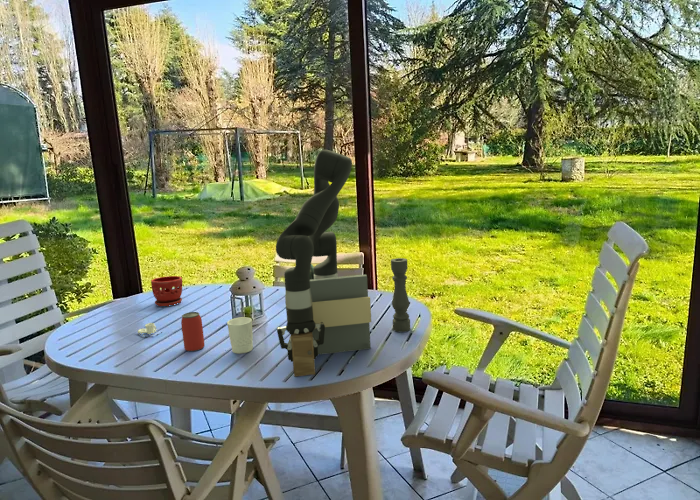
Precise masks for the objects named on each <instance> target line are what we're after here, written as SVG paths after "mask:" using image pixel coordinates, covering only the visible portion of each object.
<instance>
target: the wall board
mask: <svg viewBox="0 0 700 500" xmlns="http://www.w3.org/2000/svg"><path fill="white" fill-rule="evenodd" d="M310 290H311V294H312V306H313V320H314V322H315V323H321V322H323V323H324V325H325V332H324V343H323V344H322V345H321V344H320V345H319V346H318V356H320V355H327V354H335V353H345V352H346V353H347V352H352V351H362V350H369V349H372V347H371V332H370V331H371V330H370V328H371V326H370V323H372V309H371V308H372V307H371V306H372V305H371V296H369V291H368V276H367V274H356V275H355V274H354V275H347V276H346V275H345V276H338V277H333V278H323V279H312V280H310ZM312 334H313V336H314V338H315V339H316V340H318V339H319V331H318V329H317V327H315V329H314V330H313V332H312ZM319 354H320V355H319Z"/></svg>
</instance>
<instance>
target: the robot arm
mask: <svg viewBox="0 0 700 500" xmlns="http://www.w3.org/2000/svg"><path fill="white" fill-rule="evenodd" d="M352 168H353V160H352V159H351V158H350V157H349V156H347V155H344V154H342V153H341V154H340V153H339V152H335V151H332V150H328V149H321V150H320V151H319V152H318V154H317V155H316V158H315V161H314V167H313V195H312V196H311V197H308V198H307V199H306V200H305V201H304V202H303V204H302V205H301V207H300V209H299V210H298V213H297V215H296V217H295V219H294V220H293V221H292V222H291V223H290V224H289V225H288V226H287V227H286V228H285V229H284V230H283V231H282V232H281V233H280V235H279V236H278V238H277V240H276V243H275V252H276V254H277V256H278V258H280V259H283V260H290V261H292V260H293V261H295V266H292V267H289V268H288V269H286V270H285V271H284V288H285V290H284V291H285V294H284V295H285V296H284V297H285V298H284V300H285V301H284V302H285V312H286V313H285V314H286V321H287V322H286V326H277V327H276V333H277V337H278V341H279V346H280V349H282V350H283V349H284V350H286V351H287V359H288V361H290V363H291V362H292V363H293V354H292V342H291V334H293V335H298V334H301V333H306V334H308V333H310V332H313V330H314V329H315V327H317V329H318V331H319V339H318V340H316V339H315V338H314V336H313V348H314V360H317V358H318V357H319V355H318V346H319V345H320V344H321V345H322V344H323V343H324V332H325V325H324V323H323V322H321V323H315V322H314V320H313V306H312V294H311V290H310V278H309V273H310V267H311V264H312V260H313V257H315V258H318V257H326V256H327V257H326V258H325V260H323V261H322V262H319V263H318V264H317V263H316V265H313V266H314V269H313V271H314V279H323V278H333V277H339V275H338V255H337V252H338V251H337V250H338V249H337V248H338V247H337V246H338V245H337V237H336V233H335V232H334V231H327V230H329V228H331V227H332V226H333V225H334V224H335V223H336V221H337V220H338V216H339V215H338V214H339V210H340V201H339V199H338V195H339V193H340V191H341V190H342V189H343V187H344V185H345V184H346V183H347V181H348V179H349V177H350V174H351V171H352ZM286 331H287V332H288V333H289V334H290V336H289V339H288V342H285V339H284V335H285V334H286ZM312 335H313V334H312Z"/></svg>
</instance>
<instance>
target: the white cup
mask: <svg viewBox="0 0 700 500" xmlns="http://www.w3.org/2000/svg"><path fill="white" fill-rule="evenodd" d="M226 325H227V329H228V336H229V340H230V341H229V342H230V346H231V352H232V353H233V354H238V355H239V354H240V355H241V354H246V353H249V352H251V351H252V350H253V349H254V346H253V345H254V343H253V341H254V339H253V338H254V337H253V335H254V334H253V319H252V318H250V317H247V316H246V317H245V316H242V317H241V316H240V317H235V318H232V319H229V320H228V321H227V323H226Z"/></svg>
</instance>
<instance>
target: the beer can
mask: <svg viewBox="0 0 700 500" xmlns="http://www.w3.org/2000/svg"><path fill="white" fill-rule="evenodd" d="M202 321H203V319H202V317H201V314H200V313H199V312H198V311H190V312H186V313H184V314H182V315H181V321H180V324H181V332H182V333H181V334H182V340H183V348H184V350H185V351H187V352H196V351H199V350H202V349H203V348H204V347H205V336H204V329H203V322H202Z"/></svg>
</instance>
